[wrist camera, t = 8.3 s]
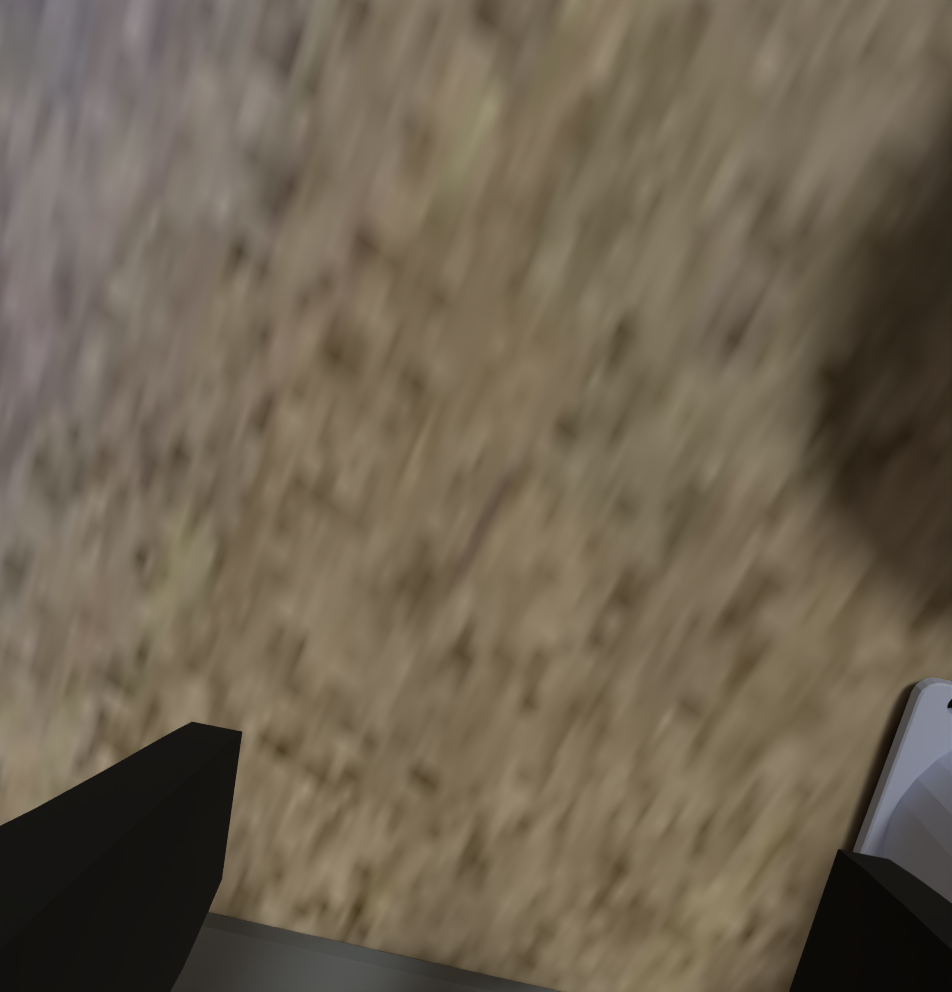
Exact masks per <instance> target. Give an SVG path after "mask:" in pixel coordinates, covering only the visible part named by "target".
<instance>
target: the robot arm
mask: <svg viewBox="0 0 952 992" xmlns="http://www.w3.org/2000/svg"><path fill="white" fill-rule="evenodd" d="M951 699H952V681H949V680H944V679H940V678H927V679H924V680H921V681H920V682H919V683H918V684H916V685H915V687H914V688H913V690H912V692H911V694H910V697H909V700H908V703H907V705H906V708H905V711H904V713H903V716H902V719H901V722H900V724H899V727H898V730H897V732H896V735H895V738H894V741H893V743H892V746H891V749H890V751H889V754H888V757H887V760H886V762H885V765H884V768H883V770H882V773H881V776H880V779H879V781H878V784H877V787H876V789H875V792H874V795H873V797H872V800H871V803H870V806H869V808H868V811H867V814H866V816H865V819H864V822H863V825H862V827H861V830H860V833H859V835H858V838H857V841H856V844H855V846H854V849H853V852H851V851H846V850H841V849H838V851H837V854H836V857H835V860H834V863H833V866H832V869H831V872H830V875H829V877H828V880H827V883H826V886H825V889H824V892H823V895H822V898H821V901H820V904H819V906H818V909H817V912H816V915H815V918H814V921H813V924H812V927H811V930H810V932H809V935H808V938H807V941H806V944H805V947H804V950H803V953H802V956H801V958H800V961H799V964H798V967H797V970H796V973H795V976H794V979H793V982H792V984H791V987H790V990H789V991H790V992H952V708H947V705H948V703H949V701H950V700H951ZM241 737H242V732H241V731H236V730H231V729H226V728H221V727H216V726H211V725H206V724H201V723H196V722H190V723H189V724H187V725H185V726H183V727H181V728H179V729H177V730H175V731H173V732H171V733H170V734H168V735H166V736H164V737H162V738H161V739H159V740H157V741H155V742H154V743H152V744H150V745H148V746H147V747H145V748H143V749H141V750H140V751H138V752H136V753H134V754H133V755H131V756H129V757H127V758H126V759H124V760H122V761H120V762H118V763H117V764H115V765H113V766H111V767H110V768H108V769H106V770H104V771H102V772H101V773H99V774H97V775H95V776H93V777H92V778H90V779H88V780H86V781H84V782H82V783H81V784H79V785H77V786H75V787H73V788H72V789H70V790H68V791H66V792H64V793H62V794H61V795H59V796H57V797H55V798H53V799H52V800H50V801H48V802H46V803H44V804H42V805H41V806H39V807H37V808H35V809H33V810H31V811H29V812H27V813H25V814H23V815H21V816H19V817H17V818H15V819H13V820H11V821H9V822H7V823H5V824H3V825H1V826H0V992H170V991H171V989H172V988H173V986H174V984H175V982H176V980H177V979H178V977H179V975H180V973H181V971H182V969H183V968H184V965H185V963H186V961H187V959H188V956H189V954H190V952H191V950H192V947H193V945H194V943H195V941H196V938H197V936H198V934H199V932H200V929H201V927H202V925H203V922H204V920H205V918H206V915H207V913H208V911H209V908H210V906H211V903H212V901H213V899H214V896H215V894H216V892H217V889H218V887H219V885H220V882H221V880H222V874H223V867H224V860H225V853H226V845H227V838H228V831H229V824H230V816H231V809H232V802H233V795H234V788H235V780H236V773H237V766H238V759H239V751H240V744H241Z"/></svg>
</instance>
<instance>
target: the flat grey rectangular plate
mask: <svg viewBox="0 0 952 992" xmlns="http://www.w3.org/2000/svg"><path fill="white" fill-rule="evenodd" d="M170 992H559V991H555V990H550V989H546V988H542V987H537V986H533V985H528V984H524V983H519V982H515V981H510V980H506V979H502V978H497V977H493V976H488V975H484V974H479V973H475V972H471V971H466V970H462V969H457V968H453V967H448V966H444V965H439V964H435V963H431V962H426V961H422V960H417V959H413V958H408V957H404V956H399V955H395V954H391V953H386V952H382V951H377V950H373V949H368V948H364V947H359V946H355V945H351V944H346V943H342V942H337V941H333V940H328V939H324V938H319V937H315V936H311V935H306V934H302V933H297V932H293V931H288V930H284V929H280V928H275V927H271V926H266V925H262V924H257V923H253V922H248V921H244V920H240V919H235V918H231V917H226V916H222V915H217V914H213V913H207V915H206V918H205V920H204V922H203V925H202V927H201V929H200V932H199V934H198V936H197V938H196V941H195V943H194V945H193V947H192V950H191V952H190V954H189V956H188V959H187V961H186V963H185V965H184V968H183V969H182V971H181V973H180V975H179V977H178V979H177V980H176V982H175V984H174V986H173V988H172V989H171V991H170Z"/></svg>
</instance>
